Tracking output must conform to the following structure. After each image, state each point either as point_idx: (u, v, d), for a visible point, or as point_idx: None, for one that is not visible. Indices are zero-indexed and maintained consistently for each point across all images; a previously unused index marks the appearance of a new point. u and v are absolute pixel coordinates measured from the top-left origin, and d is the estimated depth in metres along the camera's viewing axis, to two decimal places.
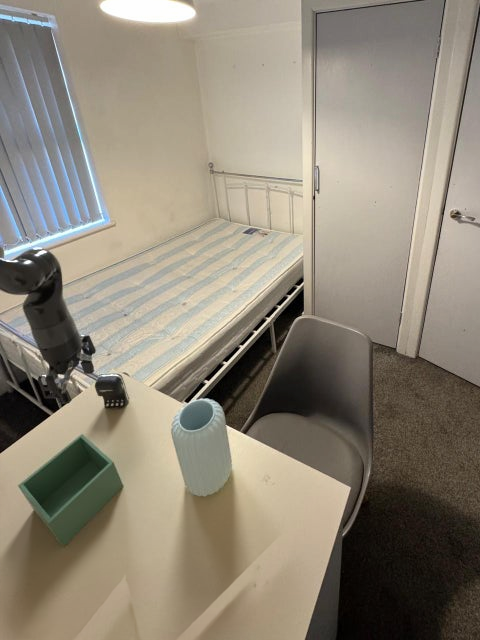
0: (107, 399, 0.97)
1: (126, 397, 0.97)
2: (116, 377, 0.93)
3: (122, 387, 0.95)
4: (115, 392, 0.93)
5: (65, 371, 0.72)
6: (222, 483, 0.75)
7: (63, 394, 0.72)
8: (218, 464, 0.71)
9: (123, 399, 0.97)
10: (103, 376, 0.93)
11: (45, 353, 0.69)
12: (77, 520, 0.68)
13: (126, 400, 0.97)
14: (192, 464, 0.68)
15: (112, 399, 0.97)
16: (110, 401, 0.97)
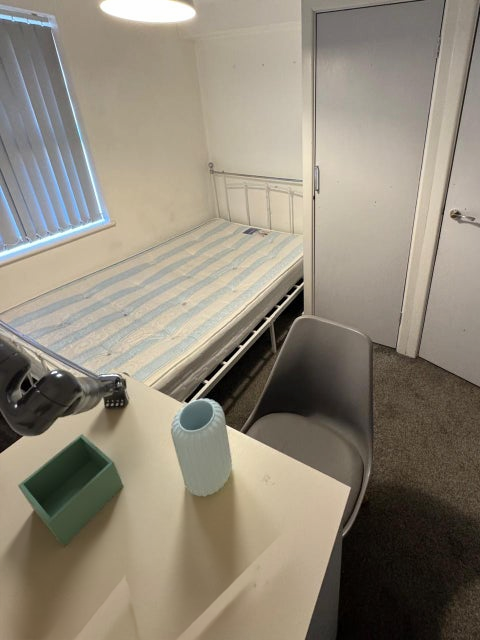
0: (107, 399, 0.97)
1: (126, 397, 0.97)
2: (116, 377, 0.93)
3: None
4: (115, 392, 0.93)
5: None
6: (222, 483, 0.75)
7: None
8: (218, 464, 0.71)
9: (123, 399, 0.97)
10: (103, 376, 0.93)
11: None
12: (77, 520, 0.68)
13: (126, 400, 0.97)
14: (192, 464, 0.68)
15: (112, 399, 0.97)
16: (110, 401, 0.97)
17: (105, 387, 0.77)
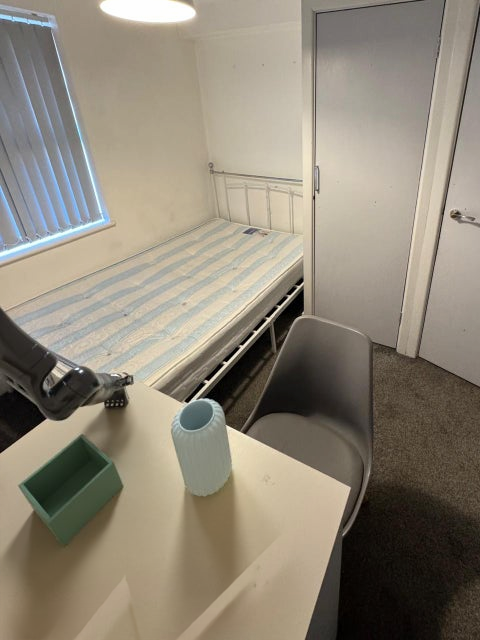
0: None
1: (126, 397, 0.97)
2: (116, 377, 0.93)
3: (122, 387, 0.95)
4: (115, 392, 0.93)
5: None
6: (222, 483, 0.75)
7: None
8: (218, 464, 0.71)
9: (123, 399, 0.97)
10: None
11: None
12: (77, 520, 0.68)
13: (126, 400, 0.97)
14: (192, 464, 0.68)
15: (112, 399, 0.97)
16: (110, 401, 0.97)
17: (116, 382, 0.88)
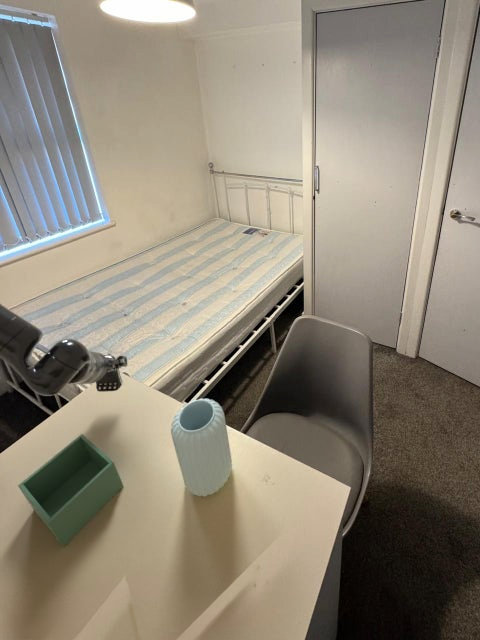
0: (100, 382, 0.93)
1: (119, 380, 0.94)
2: None
3: (115, 369, 0.92)
4: (108, 374, 0.90)
5: None
6: (222, 483, 0.75)
7: None
8: (218, 464, 0.71)
9: (116, 382, 0.94)
10: None
11: None
12: (77, 520, 0.68)
13: (119, 383, 0.94)
14: (192, 464, 0.68)
15: (105, 382, 0.93)
16: (103, 384, 0.93)
17: (109, 362, 0.84)
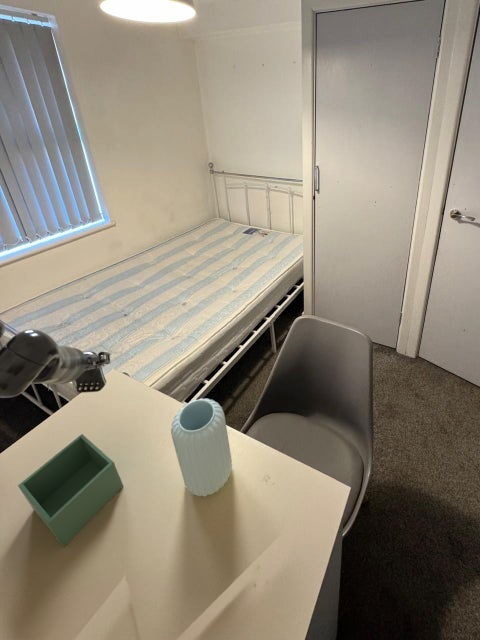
0: (80, 382, 0.83)
1: (102, 379, 0.84)
2: None
3: (97, 367, 0.81)
4: (88, 372, 0.79)
5: None
6: (222, 483, 0.75)
7: None
8: (218, 464, 0.71)
9: (99, 382, 0.83)
10: None
11: None
12: (77, 520, 0.68)
13: (102, 383, 0.84)
14: (192, 464, 0.68)
15: (86, 382, 0.83)
16: (83, 384, 0.83)
17: (88, 359, 0.74)
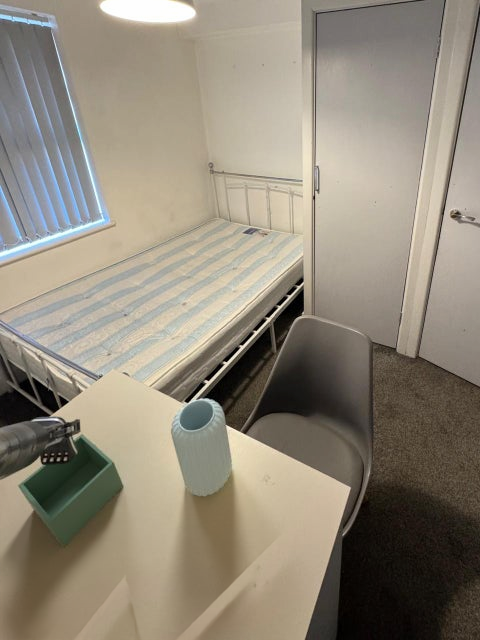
0: (45, 452, 0.68)
1: (72, 448, 0.69)
2: (55, 422, 0.65)
3: None
4: (53, 444, 0.64)
5: None
6: (222, 483, 0.75)
7: None
8: (218, 464, 0.71)
9: (68, 452, 0.68)
10: (36, 421, 0.65)
11: None
12: (77, 520, 0.68)
13: (72, 453, 0.69)
14: (192, 464, 0.68)
15: (52, 452, 0.68)
16: (49, 454, 0.68)
17: (49, 434, 0.59)
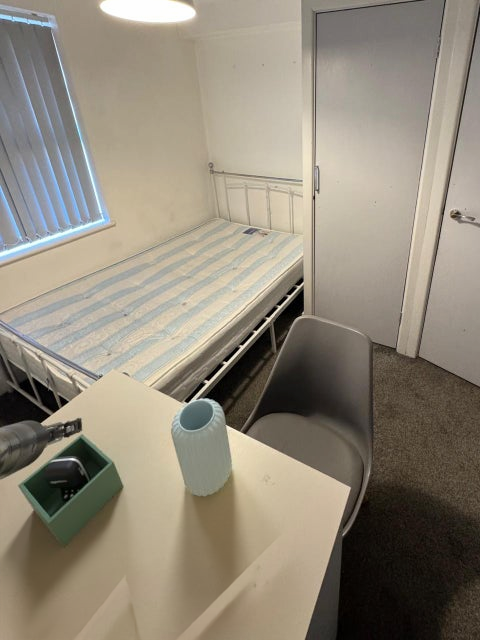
0: (65, 489, 0.74)
1: None
2: (72, 462, 0.71)
3: (81, 474, 0.72)
4: (71, 483, 0.70)
5: None
6: (222, 483, 0.75)
7: None
8: (218, 464, 0.71)
9: None
10: (55, 461, 0.71)
11: None
12: (77, 520, 0.68)
13: None
14: (192, 464, 0.68)
15: (71, 489, 0.74)
16: (69, 491, 0.74)
17: (50, 433, 0.59)
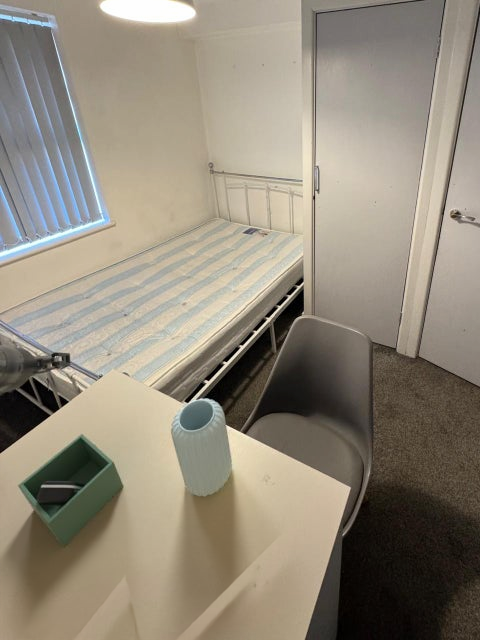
0: None
1: None
2: (66, 489, 0.67)
3: None
4: None
5: None
6: (222, 483, 0.75)
7: None
8: (218, 464, 0.71)
9: None
10: (47, 487, 0.67)
11: None
12: (77, 520, 0.68)
13: None
14: (192, 464, 0.68)
15: None
16: None
17: (37, 362, 0.60)
